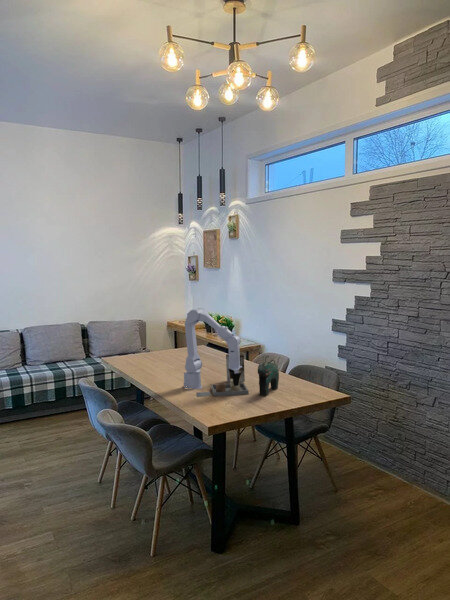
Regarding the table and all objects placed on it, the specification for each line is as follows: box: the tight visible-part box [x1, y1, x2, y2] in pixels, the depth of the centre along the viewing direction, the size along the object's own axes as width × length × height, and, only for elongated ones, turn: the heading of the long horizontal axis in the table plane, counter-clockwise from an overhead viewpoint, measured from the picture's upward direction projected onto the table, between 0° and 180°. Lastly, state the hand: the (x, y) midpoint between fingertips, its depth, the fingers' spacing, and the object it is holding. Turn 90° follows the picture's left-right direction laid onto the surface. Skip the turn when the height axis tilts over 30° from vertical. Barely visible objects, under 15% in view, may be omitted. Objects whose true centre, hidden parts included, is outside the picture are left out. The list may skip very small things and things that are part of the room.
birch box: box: [229, 379, 241, 391], centre depth 235 cm, size 4×4×6 cm
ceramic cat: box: [257, 355, 280, 397], centre depth 231 cm, size 20×6×20 cm, turn 151°
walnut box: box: [215, 382, 226, 392], centre depth 231 cm, size 4×4×5 cm
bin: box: [211, 382, 250, 397], centre depth 235 cm, size 18×15×2 cm
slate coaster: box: [196, 391, 212, 398], centre depth 230 cm, size 7×7×1 cm
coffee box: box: [225, 352, 246, 384], centre depth 254 cm, size 9×6×16 cm
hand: (235, 383), depth 235 cm, fingers open, 7 cm apart
